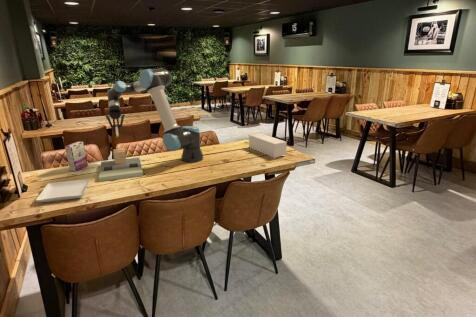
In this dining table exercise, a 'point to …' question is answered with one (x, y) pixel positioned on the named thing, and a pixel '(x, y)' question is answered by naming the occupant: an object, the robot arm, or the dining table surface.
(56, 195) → the salad plate
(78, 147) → the candy bar box
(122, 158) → the maple block
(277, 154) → the white rectangular block
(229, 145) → the dining table surface
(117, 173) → the block
